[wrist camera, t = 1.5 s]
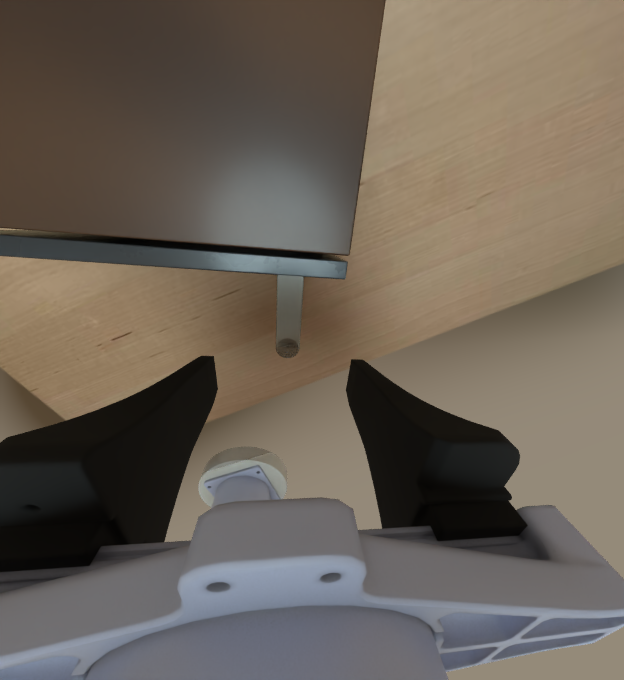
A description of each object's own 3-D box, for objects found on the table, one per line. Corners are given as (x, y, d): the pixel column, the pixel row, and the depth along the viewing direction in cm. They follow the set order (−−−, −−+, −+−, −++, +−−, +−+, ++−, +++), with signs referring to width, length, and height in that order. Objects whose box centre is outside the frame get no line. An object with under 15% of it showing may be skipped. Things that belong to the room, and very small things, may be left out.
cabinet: (321, 244, 19) (349, 255, 10) (111, 227, 17) (-75, 221, 8) (337, 74, 15) (407, -156, 6) (60, 26, 13) (-419, -406, 4)
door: (314, 318, 21) (332, 374, 13) (130, 309, 19) (10, 368, 11) (321, 248, 19) (348, 261, 10) (110, 230, 17) (-65, 229, 8)
